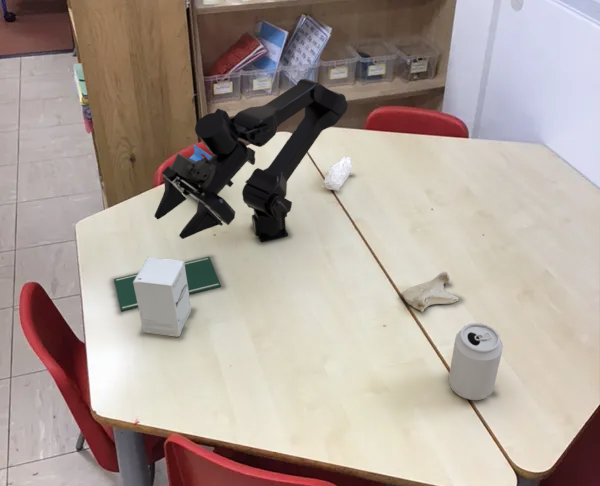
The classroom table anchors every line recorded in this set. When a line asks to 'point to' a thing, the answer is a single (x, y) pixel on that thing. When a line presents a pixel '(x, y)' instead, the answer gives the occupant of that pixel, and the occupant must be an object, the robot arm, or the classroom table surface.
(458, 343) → the can
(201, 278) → the green mat
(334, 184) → the white crumpled lump
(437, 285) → the fossil
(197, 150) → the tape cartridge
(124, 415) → the classroom table surface
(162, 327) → the white packaging box
